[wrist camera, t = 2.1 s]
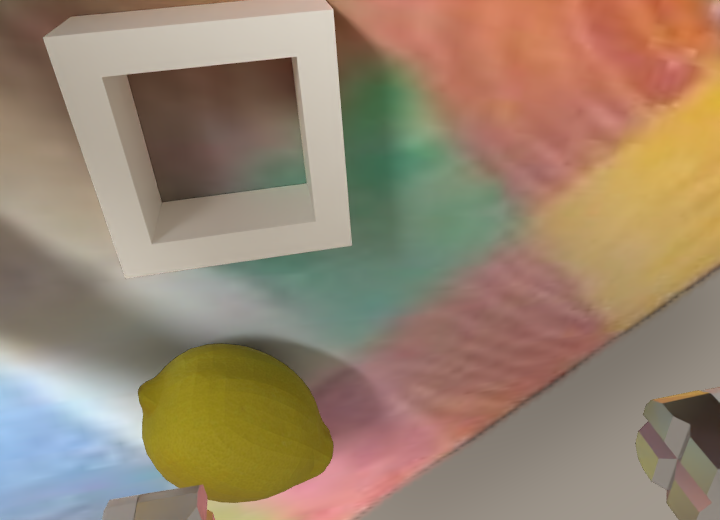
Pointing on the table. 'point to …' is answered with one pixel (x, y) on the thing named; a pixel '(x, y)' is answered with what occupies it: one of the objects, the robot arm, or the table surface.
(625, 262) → the table surface
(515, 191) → the table surface
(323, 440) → the lemon
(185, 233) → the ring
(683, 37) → the table surface
